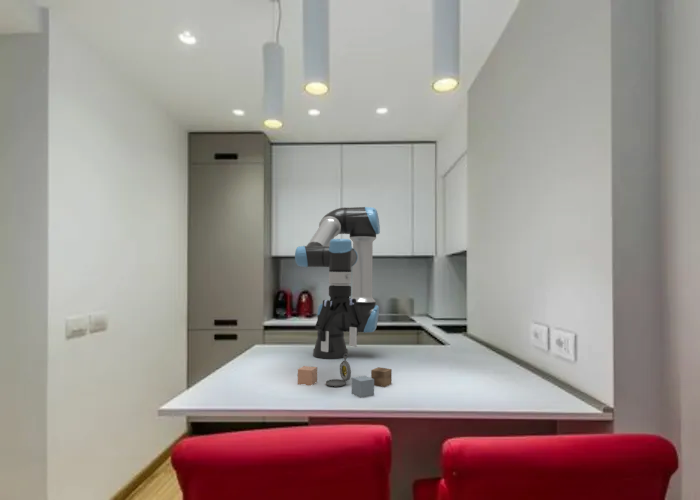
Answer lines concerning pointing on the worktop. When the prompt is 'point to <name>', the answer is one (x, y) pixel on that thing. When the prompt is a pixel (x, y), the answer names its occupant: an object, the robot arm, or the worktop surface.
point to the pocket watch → (345, 373)
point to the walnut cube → (381, 376)
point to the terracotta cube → (307, 375)
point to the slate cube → (362, 386)
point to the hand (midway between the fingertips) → (339, 348)
